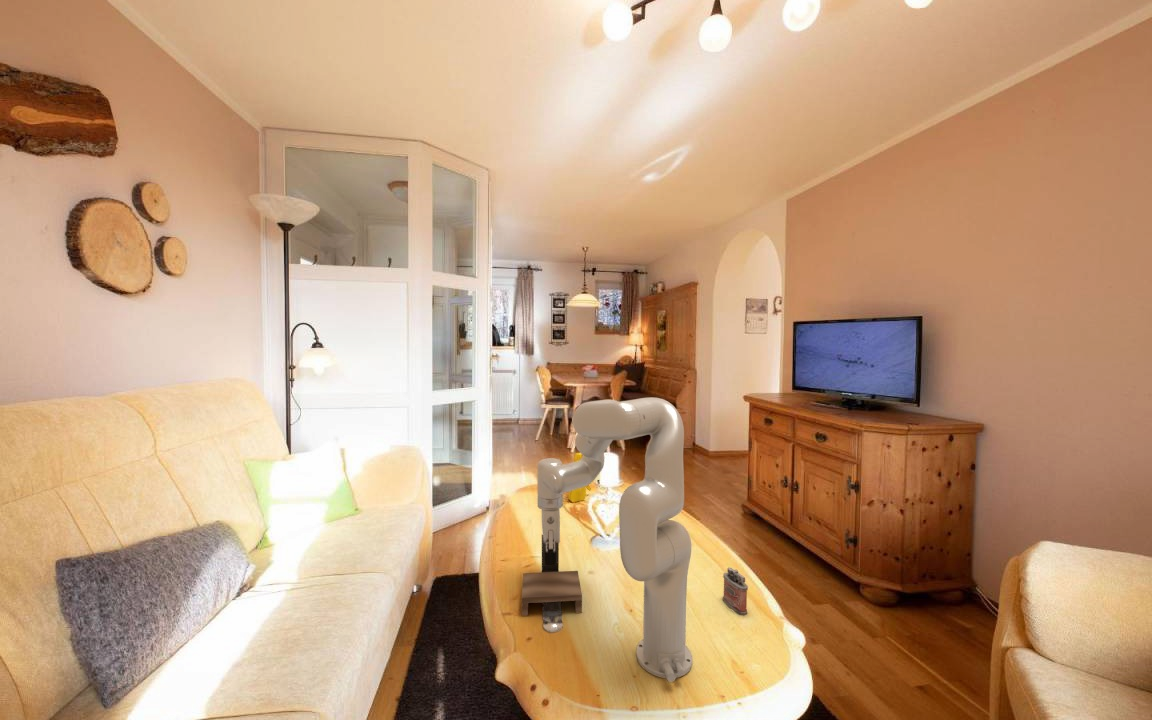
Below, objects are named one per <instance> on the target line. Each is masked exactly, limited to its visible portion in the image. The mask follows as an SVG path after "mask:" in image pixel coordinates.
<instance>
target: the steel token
mask: <svg viewBox="0 0 1152 720" xmlns="http://www.w3.org/2000/svg"><path fill="white" fill-rule="evenodd" d="M562 619H563V618H562ZM562 619H561V618H559V617H555V616H552V617H548V618H546V619H545V620H543V621H542V627H543V628H542V629H543V630H544V631H546V632H547V633H551V634H555V633H558V632H560V631H561V630H562V629H563V625H564V622H563V620H562Z"/></svg>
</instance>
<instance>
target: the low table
mask: <svg viewBox="0 0 1152 720" xmlns="http://www.w3.org/2000/svg"><path fill="white" fill-rule="evenodd" d="M579 576H580V575H579V570H563V571H559V572H542V571H541V572H524V573H522V584H521V585H522V586H521V617H528V615H529V604H531V603H533V604H535V603H542V602H557V601H561V602H570V601H571V602H573V603H574V608H575V613H576V614H582V613H583V591H582V587H581V582H580V577H579Z"/></svg>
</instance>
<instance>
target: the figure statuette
mask: <svg viewBox="0 0 1152 720" xmlns="http://www.w3.org/2000/svg"><path fill="white" fill-rule="evenodd" d="M583 456H584V455H582V454H581V453H580V452H575V453H574V456H573V462H576V461H579V460H580V459H581V458H582V457H583ZM586 489H587V490H588V492H589V491H590V492H591V490H592V487H591V486H590V484H589V485H587V486H585V487H582V488H578V489H575V490H572V491H570V492H568V494H567V495H568V498H567V499H568V501H570V502H571V503H577V502H581V501H585V500H586V496H587V490H586Z"/></svg>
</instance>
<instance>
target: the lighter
mask: <svg viewBox="0 0 1152 720" xmlns="http://www.w3.org/2000/svg"><path fill="white" fill-rule="evenodd" d="M726 569H727V572H724V573H722V574H723V576H722V577H723V597H722V602H723V603H724V604H725V605H726V606H727V607H728V608H729V609H730V610H731V611H733V612H734V613H736V614H737V615H738V616H743V617H745V616H747V615H748V609H747V605H748V604H747V602H748V596H747V594H748V588H749V586H748V584H747V583H746V577H745V576H744V575H742V574H741V573H739V571H738V569H734V568H733V567H730V566H729V567H727V568H726Z"/></svg>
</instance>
